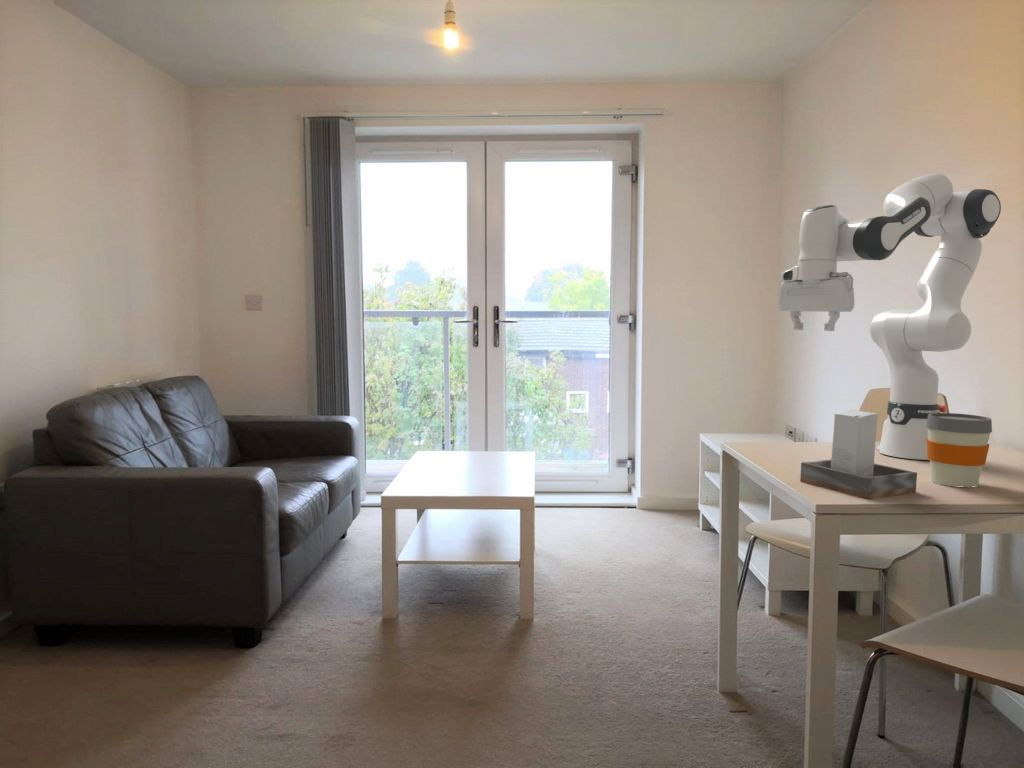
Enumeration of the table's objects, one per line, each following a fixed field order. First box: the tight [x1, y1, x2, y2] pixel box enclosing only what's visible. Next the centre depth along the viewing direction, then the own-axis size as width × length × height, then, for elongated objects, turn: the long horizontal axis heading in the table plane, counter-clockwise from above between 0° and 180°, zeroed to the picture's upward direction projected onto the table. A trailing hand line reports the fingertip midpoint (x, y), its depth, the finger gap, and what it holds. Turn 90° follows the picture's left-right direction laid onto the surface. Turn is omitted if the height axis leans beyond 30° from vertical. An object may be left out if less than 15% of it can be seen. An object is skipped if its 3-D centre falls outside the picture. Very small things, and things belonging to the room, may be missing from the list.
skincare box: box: [830, 409, 879, 477], centre depth 158 cm, size 8×6×15 cm
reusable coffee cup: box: [926, 412, 993, 487], centre depth 163 cm, size 13×13×15 cm
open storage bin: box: [800, 459, 918, 500], centre depth 158 cm, size 15×17×4 cm
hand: (813, 330), depth 179 cm, fingers open, 8 cm apart
